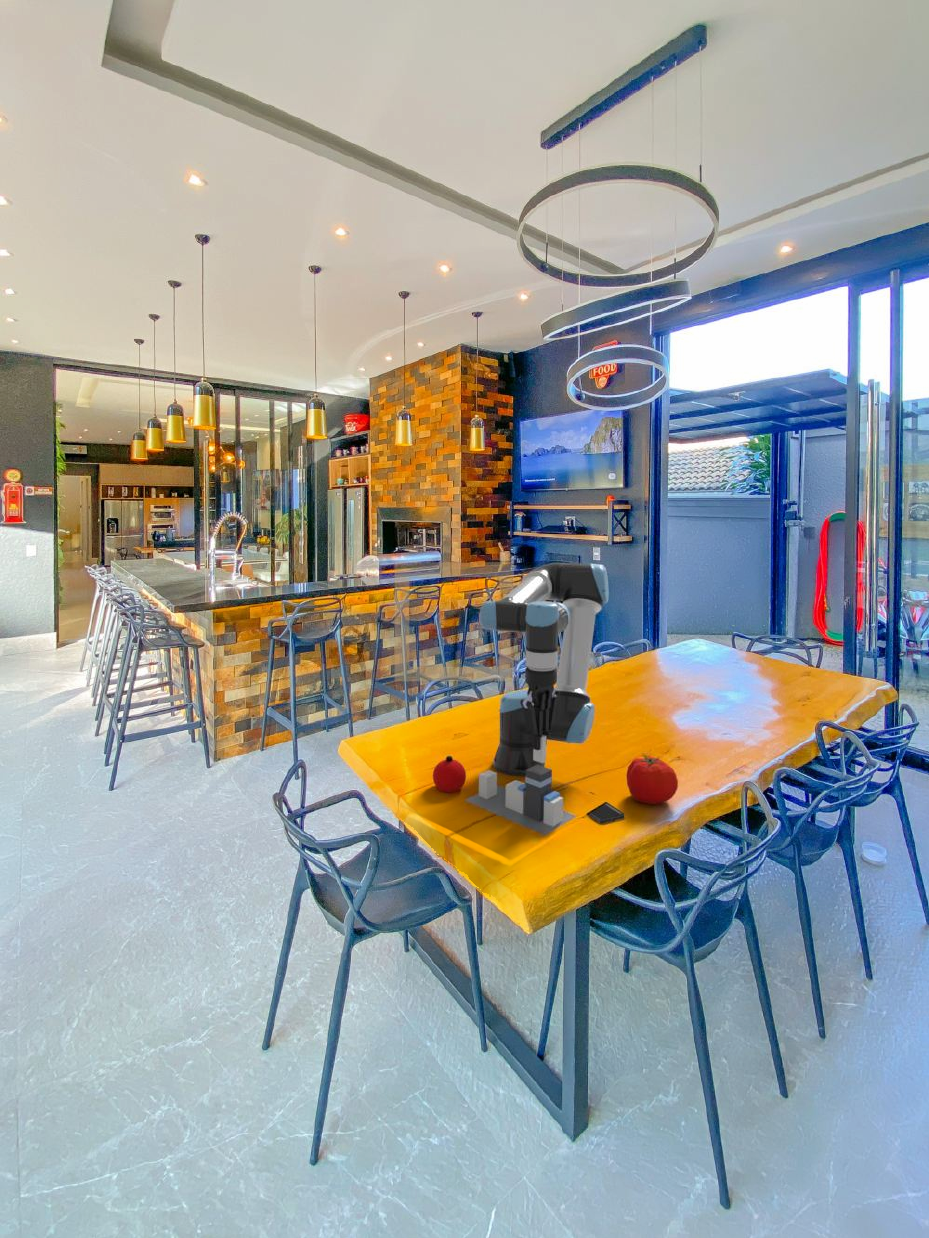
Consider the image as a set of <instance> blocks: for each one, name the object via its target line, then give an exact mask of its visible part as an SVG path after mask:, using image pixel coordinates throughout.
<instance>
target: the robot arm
mask: <svg viewBox="0 0 929 1238" xmlns="http://www.w3.org/2000/svg"><path fill="white" fill-rule="evenodd" d="M609 587H610V586H609V579H608V572H607V568H606V567H605V566H604V565H603V564H597V563H592V562H591V563H575V562H573V563H571V562H569V563H568V562H552V563H547V564H543V565H541V566H538V567H536V568H534V569H531V570H530V571H529V572H527V573H526V574H525V575H524V576H523V577H522V578H521V581H520V583H519V584H518V585H517V586H516V587H514V588H513V589H512V590H511V591H510V592H509V593H507V594H506V595H505V596H504V597H502V598H501V599H500V600H499V601H497V600H487V601H484V602H483V603H482V605H481V607H480V612H479V622H480V625H481V627H482V629H484V630H489V631H494V632H510V633H511V632H512V633H524V634H525V666H526V667H525V672H524V673H525V674H524V678H525V679H524V681H525V683H526V684H527V685H528V689H519V690H514V691H509V692H507V693H505V694H503V696H502V697H501V698H500V702H499V711H498V712H499V744H498V746H497V749H496V752H495V756H494V759H493V762H492V763H493V768H494V769H495V771H497V773H498V772H499V773H500V774H503V775H505V776H506V775H507V776H512V777H526V770H527V769H529V768H531V767H533V766H535V765H540V766H543V767H545V768H546V765H545V763H546V761H547V745H548V741H553V742H554V741H555V742H563V743H566V744H584V743H585V742H586V741H587V740H588V738H589V736H590V734H591V731H592V728H593V725H594V720H595V712H596V706H595V704H594V703H593V702H591V696H590V695H589V694H588V693H587V686H588V678H589V677H588V676H589V668H590V663H591V661H590V660H591V654H592V646H593V637H594V631H595V630H594V629H595V621H596V615H597V614H598V613H599V612H601V611H602V607H603V604H604V605H605V604H608V602H609V598H610V596H609V594H610V591H609V589H610V588H609ZM552 601H553V602H552ZM558 601H559V602H558ZM561 601H562V603H561ZM562 632H563V636H562V641H561V647H560V648H561V650H560V656H559V655H558V652H559V651H558V650H559V649H558V645H559V644H558V642H559V641H558V639H559V635H560V634H561V633H562ZM558 656H559V657H558ZM558 658H559V659H558ZM558 661H559V662H558ZM557 667H558V669H557Z"/></svg>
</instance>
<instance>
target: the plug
mask: <svg viewBox="0 0 929 1238" xmlns="http://www.w3.org/2000/svg"><path fill="white" fill-rule="evenodd" d="M552 772H553V769H551V768H548V767H546V766H545V767H543V766H540V765H535V766H533V767H531V768H529V769H527V770H526V776H524V777H525V781H524V783H526V793H525V816H527V817H529V818H532V819H534V820H536V821H539V822H540V821H542V820H544V796H546V795H548V794H550V793H552V786H553V785H552V782H553V776H552V775H553V773H552Z"/></svg>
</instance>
